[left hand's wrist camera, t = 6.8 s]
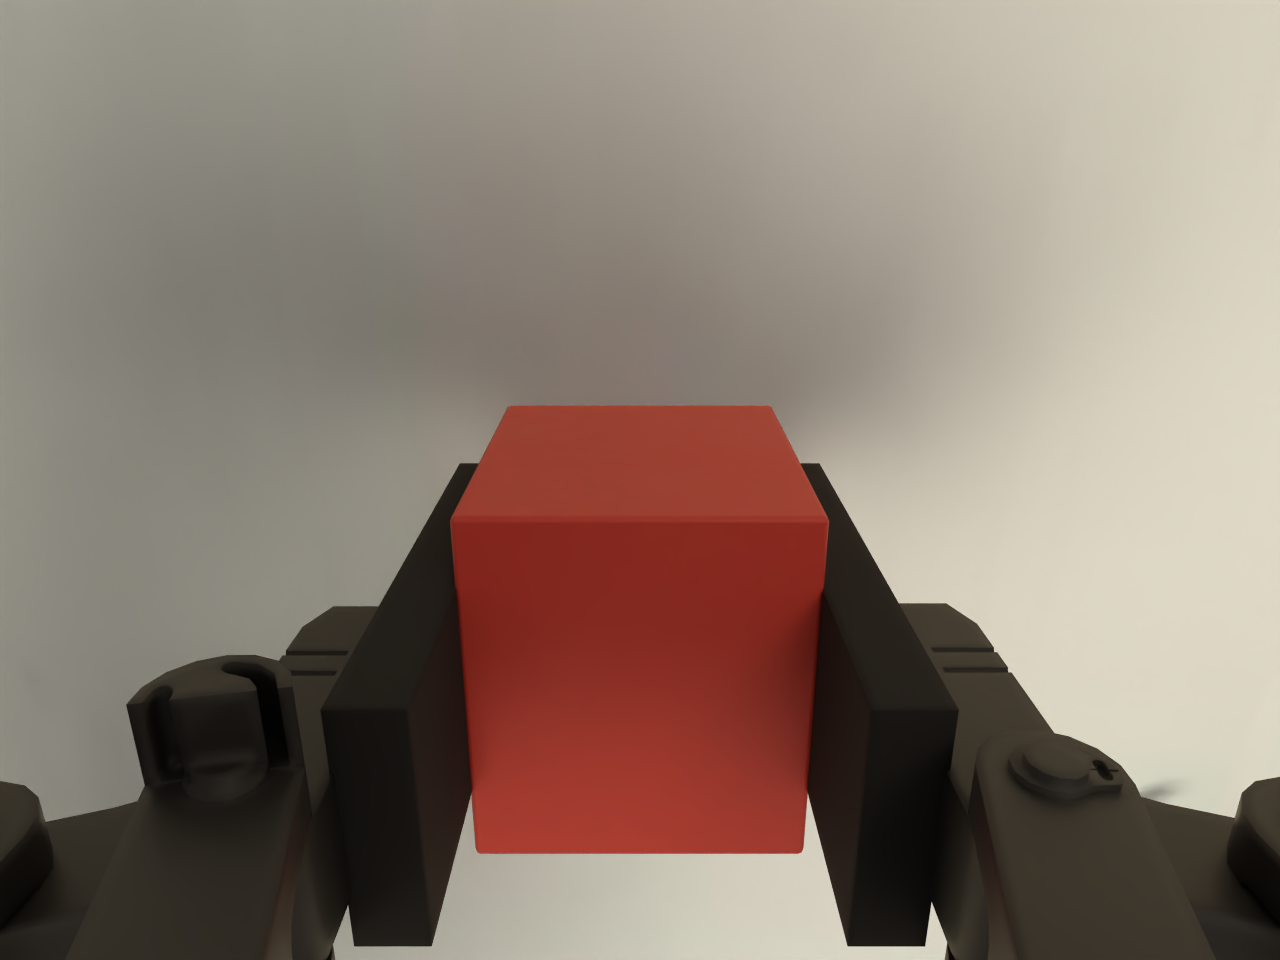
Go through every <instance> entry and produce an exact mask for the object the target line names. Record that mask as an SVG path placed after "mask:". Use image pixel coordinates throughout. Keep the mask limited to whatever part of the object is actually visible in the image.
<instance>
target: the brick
mask: <svg viewBox="0 0 1280 960" xmlns="http://www.w3.org/2000/svg"><path fill="white" fill-rule="evenodd" d="M450 526H451V539H452V552H453V565H454V578H455V588H456V592H457V605H458V618H459V631H460V644H461V656H462V669H463V682H464V695H465V708H466V720H467V733H468V746H469V759H470V772H471V784H472V793H471V795H472V808H473V821H474V833H475V846H476V850H477V852H478V853H481V854H798V853H801V852H802V850H803V846H804V833H805V820H806V808H807V795H808V791H807V786H808V774H809V761H810V748H811V735H812V722H813V709H814V697H815V684H816V671H817V658H818V645H819V633H820V620H821V607H822V594H823V588H824V578H825V565H826V553H827V540H828V527H829V520H828V517H827V515H826V513H825V511H824V509H823V507H822V505H821V503H820V502H819V500H818V498H817V496H816V494H815V492H814V490H813V488H812V486H811V484H810V482H809V480H808V478H807V476H806V474H805V472H804V470H803V468H802V466H801V464H800V462H799V460H798V459H797V457H796V455H795V453H794V451H793V449H792V447H791V445H790V443H789V441H788V439H787V437H786V435H785V433H784V431H783V429H782V427H781V425H780V423H779V421H778V419H777V417H776V415H775V414H774V412H773V410H772V408H771V407H770V406H509V407H508V408H507V410H506V412H505V414H504V416H503V418H502V420H501V422H500V423H499V425H498V427H497V429H496V431H495V433H494V435H493V437H492V439H491V441H490V443H489V445H488V447H487V449H486V451H485V453H484V455H483V457H482V459H481V461H480V463H479V464H478V466H477V468H476V470H475V472H474V474H473V476H472V478H471V480H470V482H469V484H468V486H467V488H466V490H465V492H464V494H463V496H462V498H461V500H460V502H459V504H458V506H457V507H456V509H455V511H454V513H453V515H452V517H451V520H450Z"/></svg>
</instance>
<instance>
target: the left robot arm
mask: <svg viewBox="0 0 1280 960" xmlns="http://www.w3.org/2000/svg"><path fill="white" fill-rule="evenodd" d="M478 464H479V463H460V464H459V466H458V468H457V470H456V471H455V473H454V475H453V477H452V478H451V480H450V482H449V484H448V485H447V487H446V489H445V491H444V493H443V494H442V496H441V498H440V500H439V501H438V503H437V505H436V507H435V508H434V510H433V512H432V514H431V515H430V517H429V519H428V521H427V522H426V524H425V526H424V528H423V530H422V531H421V533H420V535H419V537H418V538H417V540H416V542H415V544H414V545H413V547H412V549H411V551H410V552H409V554H408V556H407V558H406V559H405V561H404V563H403V565H402V567H401V568H400V570H399V572H398V574H397V575H396V577H395V579H394V581H393V582H392V584H391V586H390V588H389V589H388V591H387V593H386V595H385V596H384V598H383V600H382V602H381V604H380V605H379V606H333V607H332V608H330V609H329V610H327V611H326V612H324V613H323V614H321V615H320V616H318V617H317V618H315V619H314V620H312V621H311V622H309V623H308V624H306V625H305V626H303V627H302V629H301V630H300V632H299V633H298V634H297V636H296V637H295V639H294V640H293V642H292V643H291V644H290V646H289V647H288V649H287V650H286V656H282V657H281V659H280V660H279V661H277V660H273V659H269V658H265V657H261V656H257V655H226V656H221V657H216V658H210V659H205V660H200V661H196V662H193V663H190V664H187V665H185V666H182V667H179V668H177V669H174V670H171V671H169V672H166V673H165V674H163V675H161V676H160V677H158V678H156V679H155V680H153V681H151V682H150V683H148V684H147V685H145V686H143V687H142V688H141V689H140V690H139V691H138V692H137V693H136V694H135V695H134V697H133V698H132V699H131V700H130V701H129V702H128V703H127V704H126V706H127V710H128V714H129V719H130V723H131V727H132V732H133V736H134V740H135V745H136V749H137V753H138V758H139V762H140V766H141V771H142V775H143V779H144V783H145V787H144V789H143V791H142V793H141V795H140V797H139V800H138V801H137V802H133V803H130V804H126V805H122V806H119V807H115V808H111V809H106V810H101V811H96V812H92V813H87V814H82V815H77V816H73V817H68V818H63V819H58V820H53V821H49V822H45V819H44V816H43V812H42V808H41V805H40V801H39V798H38V797H37V796H36V795H35V794H34V793H33V792H32V791H31V790H29V789H28V788H27V787H26V786H24V785H19V784H13V783H8V782H2V781H0V960H335V955H334V949H333V943H334V940H335V938H336V935H337V932H338V930H339V927H340V925H341V922H342V919H343V917H344V914H345V912H346V909H347V906H349V913H350V920H351V927H352V934H353V941H354V946H432V943H433V939H434V935H435V931H436V927H437V924H438V920H439V916H440V912H441V908H442V904H443V901H444V897H445V893H446V889H447V885H448V881H449V877H450V874H451V870H452V866H453V862H454V858H455V854H456V850H457V847H458V843H459V839H460V835H461V831H462V827H463V824H464V820H465V816H466V812H467V808H468V804H469V800H470V797H471V793H472V784H471V772H470V759H469V746H468V733H467V720H466V708H465V695H464V682H463V669H462V656H461V644H460V631H459V618H458V605H457V592H456V588H455V578H454V565H453V552H452V539H451V526H450V520H451V517H452V515H453V513H454V511H455V509H456V507H457V506H458V504H459V502H460V500H461V498H462V496H463V494H464V492H465V490H466V488H467V486H468V484H469V482H470V480H471V478H472V476H473V474H474V472H475V470H476V468H477V466H478ZM800 464H801V466H802V468H803V470H804V472H805V474H806V476H807V478H808V480H809V482H810V484H811V486H812V488H813V490H814V492H815V494H816V496H817V498H818V500H819V502H820V503H821V505H822V507H823V509H824V511H825V513H826V515H827V517H828V520H829V527H828V540H827V553H826V565H825V578H824V588H823V594H822V607H821V620H820V633H819V645H818V658H817V671H816V684H815V697H814V709H813V722H812V735H811V748H810V761H809V774H808V786H807V791H808V795H809V799H810V803H811V807H812V811H813V815H814V818H815V822H816V826H817V830H818V834H819V838H820V842H821V845H822V849H823V853H824V857H825V861H826V865H827V868H828V872H829V876H830V880H831V884H832V888H833V892H834V895H835V899H836V903H837V907H838V911H839V915H840V919H841V922H842V926H843V930H844V934H845V938H846V942H847V945H848V946H925V943H926V936H927V929H928V922H929V915H930V908H931V901H932V904H933V906H934V909H935V911H936V914H937V916H938V919H939V922H940V924H941V927H942V929H943V932H944V935H945V937H946V940H947V948H946V955H945V960H1280V777H1277V778H1271V779H1266V780H1260V781H1255V782H1254V783H1253V784H1252V785H1251V786H1249V787H1248V788H1247V789H1246V790H1245V791H1244V792H1243V793H1242V795H1241V798H1240V802H1239V805H1238V809H1237V812H1236V816H1235V818H1232V817H1227V816H1222V815H1217V814H1212V813H1207V812H1203V811H1198V810H1193V809H1188V808H1183V807H1179V806H1174V805H1169V804H1165V803H1161V802H1157V801H1154V800H1150V799H1146V798H1143V797H1141V796H1140V794H1139V791H1138V789H1137V787H1136V785H1135V783H1134V782H1133V781H1132V780H1131V778H1130V777H1129V776H1128V774H1127V773H1126V772H1125V770H1124V769H1123V768H1122V766H1121V765H1119V764H1118V763H1117V762H1115V761H1114V760H1112V759H1111V758H1110V757H1108V756H1107V755H1105V754H1104V753H1103V752H1101V751H1100V750H1098V749H1097V748H1094V747H1092V746H1090V745H1087V744H1085V743H1083V742H1080V741H1078V740H1076V739H1073V738H1071V737H1069V736H1064V735H1060V734H1055V733H1054V732H1053V731H1052V729H1051V728H1050V726H1049V725H1048V724H1047V722H1046V721H1045V719H1044V718H1043V717H1042V715H1041V714H1040V712H1039V711H1038V709H1037V708H1036V707H1035V705H1034V704H1033V702H1032V701H1031V700H1030V698H1029V697H1028V695H1027V694H1026V692H1025V691H1024V690H1023V688H1022V687H1021V685H1020V684H1019V683H1018V681H1017V680H1016V678H1015V677H1014V676H1013V674H1012V673H1008V667H1007V666H1006V664H1005V663H1004V661H1003V660H1002V659H1001V657H1000V656H999V654H998V653H997V652H994V647H993V646H992V644H991V643H990V642H989V640H988V639H987V637H986V636H985V635H984V633H983V632H982V630H981V629H980V627H979V626H978V625H977V624H976V623H975V622H973V621H972V620H970V619H969V618H967V617H966V616H964V615H963V614H961V613H960V612H958V611H957V610H955V609H954V608H952V607H951V606H949V605H948V604H931V603H930V604H927V603H924V604H923V603H898V601H897V599H896V598H895V596H894V594H893V592H892V591H891V589H890V587H889V585H888V584H887V582H886V580H885V578H884V577H883V575H882V573H881V571H880V570H879V568H878V566H877V564H876V562H875V561H874V559H873V557H872V555H871V554H870V552H869V550H868V548H867V547H866V545H865V543H864V541H863V540H862V538H861V536H860V534H859V533H858V531H857V529H856V527H855V525H854V524H853V522H852V520H851V518H850V517H849V515H848V513H847V511H846V510H845V508H844V506H843V504H842V503H841V501H840V499H839V497H838V496H837V494H836V492H835V490H834V488H833V487H832V485H831V483H830V481H829V480H828V478H827V476H826V474H825V473H824V471H823V469H822V467H821V466H820V464H819V463H800Z"/></svg>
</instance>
